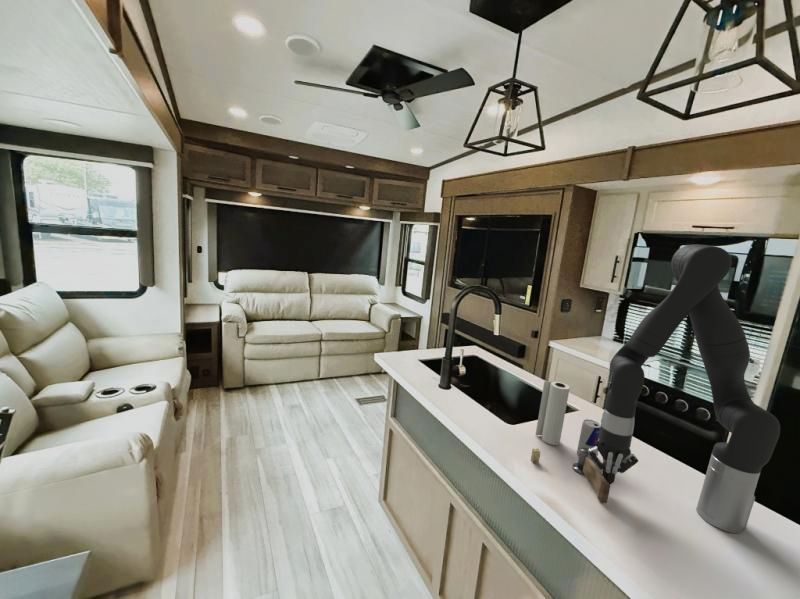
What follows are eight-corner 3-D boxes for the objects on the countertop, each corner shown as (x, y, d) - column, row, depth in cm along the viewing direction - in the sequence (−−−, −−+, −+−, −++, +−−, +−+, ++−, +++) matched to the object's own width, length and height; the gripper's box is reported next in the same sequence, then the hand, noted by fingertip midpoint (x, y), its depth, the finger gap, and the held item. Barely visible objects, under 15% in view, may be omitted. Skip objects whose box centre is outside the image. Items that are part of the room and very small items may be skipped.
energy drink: (596, 462, 113) (603, 429, 111) (579, 459, 114) (585, 426, 112) (591, 452, 118) (598, 420, 116) (574, 449, 119) (580, 417, 117)
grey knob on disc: (583, 464, 111) (587, 445, 110) (593, 475, 106) (597, 455, 105) (569, 464, 111) (572, 445, 109) (578, 475, 106) (582, 455, 104)
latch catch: (536, 459, 112) (538, 448, 111) (538, 462, 110) (540, 451, 110) (530, 459, 112) (532, 448, 111) (532, 462, 110) (534, 451, 110)
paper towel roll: (563, 444, 122) (573, 387, 118) (550, 447, 120) (560, 389, 115) (548, 432, 128) (557, 378, 124) (535, 435, 126) (544, 380, 122)
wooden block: (581, 472, 106) (584, 456, 105) (586, 473, 106) (590, 457, 105) (600, 502, 95) (604, 484, 94) (606, 503, 95) (610, 485, 93)
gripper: (595, 430, 94) (586, 487, 97) (650, 438, 91) (639, 496, 94) (586, 416, 101) (578, 470, 104) (637, 423, 98) (627, 478, 101)
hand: (607, 482), depth 99 cm, fingers closed
